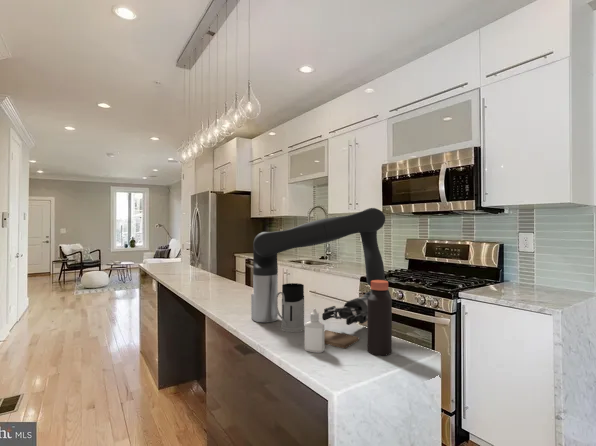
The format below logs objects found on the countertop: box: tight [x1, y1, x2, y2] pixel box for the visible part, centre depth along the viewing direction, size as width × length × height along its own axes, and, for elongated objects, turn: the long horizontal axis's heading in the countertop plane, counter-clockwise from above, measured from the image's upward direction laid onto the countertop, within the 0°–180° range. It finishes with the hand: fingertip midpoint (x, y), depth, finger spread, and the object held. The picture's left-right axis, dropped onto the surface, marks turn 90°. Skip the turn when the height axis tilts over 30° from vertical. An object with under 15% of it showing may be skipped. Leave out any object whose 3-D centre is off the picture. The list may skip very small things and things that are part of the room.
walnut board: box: [324, 329, 360, 349], centre depth 107 cm, size 12×9×1 cm
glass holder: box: [275, 282, 305, 333], centre depth 117 cm, size 9×14×15 cm, turn 147°
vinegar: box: [366, 280, 393, 357], centre depth 97 cm, size 7×7×20 cm
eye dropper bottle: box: [304, 307, 326, 354], centre depth 98 cm, size 4×6×12 cm
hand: (335, 319), depth 107 cm, fingers open, 8 cm apart
